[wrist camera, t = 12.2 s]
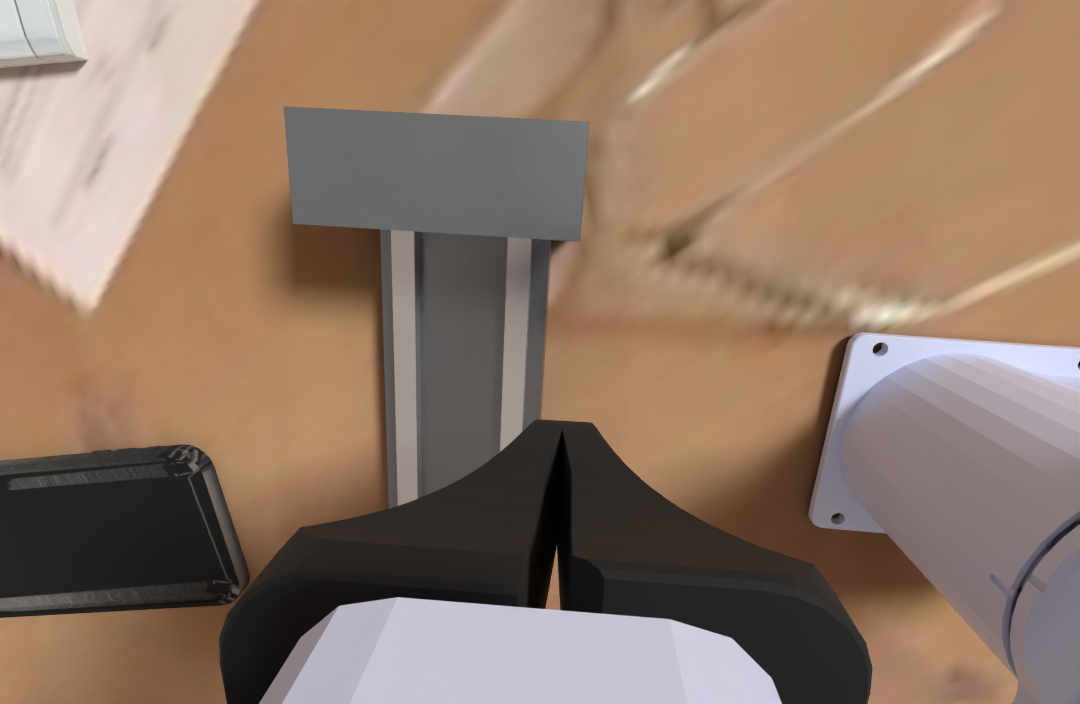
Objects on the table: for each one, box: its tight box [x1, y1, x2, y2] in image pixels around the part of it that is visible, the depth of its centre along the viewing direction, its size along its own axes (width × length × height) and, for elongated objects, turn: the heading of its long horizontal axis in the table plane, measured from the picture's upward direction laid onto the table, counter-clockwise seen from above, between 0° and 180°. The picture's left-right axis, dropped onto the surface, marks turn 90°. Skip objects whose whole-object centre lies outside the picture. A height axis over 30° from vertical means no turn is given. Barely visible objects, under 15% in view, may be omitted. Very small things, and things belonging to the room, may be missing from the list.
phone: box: [0, 445, 250, 618], centre depth 25 cm, size 8×1×15 cm
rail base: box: [284, 107, 589, 509], centre depth 20 cm, size 8×30×6 cm, turn 177°
